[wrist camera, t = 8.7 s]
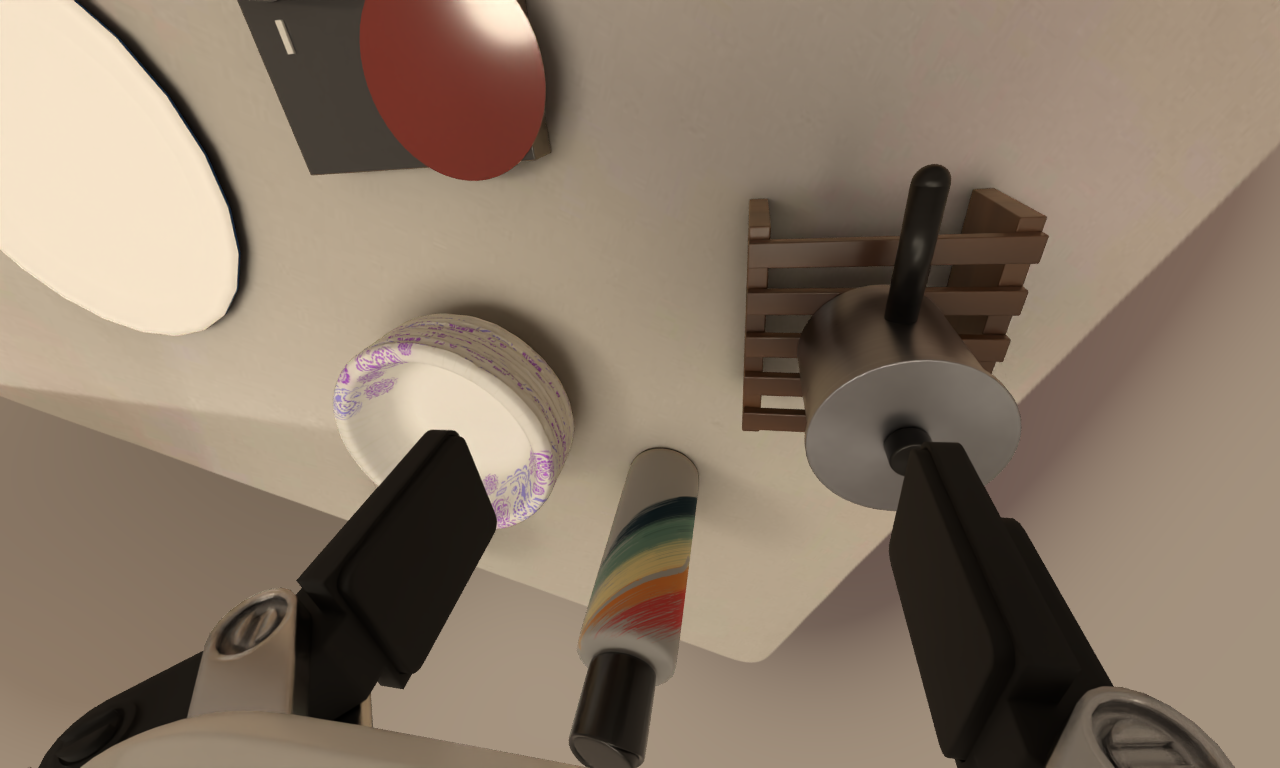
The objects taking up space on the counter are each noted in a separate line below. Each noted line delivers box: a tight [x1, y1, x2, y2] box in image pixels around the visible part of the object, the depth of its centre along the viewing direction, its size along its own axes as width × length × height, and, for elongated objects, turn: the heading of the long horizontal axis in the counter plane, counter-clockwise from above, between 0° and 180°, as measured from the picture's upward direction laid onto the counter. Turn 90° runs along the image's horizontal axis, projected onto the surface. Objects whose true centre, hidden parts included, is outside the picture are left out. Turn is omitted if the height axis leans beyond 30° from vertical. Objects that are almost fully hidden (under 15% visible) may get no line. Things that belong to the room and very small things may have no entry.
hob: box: [237, 0, 551, 175], centre depth 24 cm, size 14×16×3 cm
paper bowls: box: [333, 314, 574, 529], centre depth 35 cm, size 15×15×8 cm
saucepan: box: [797, 164, 1021, 511], centre depth 19 cm, size 7×13×8 cm, turn 5°
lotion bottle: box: [569, 448, 699, 768], centre depth 31 cm, size 6×6×20 cm
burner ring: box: [360, 0, 546, 181], centre depth 24 cm, size 10×10×1 cm
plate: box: [0, 0, 240, 336], centre depth 34 cm, size 25×25×1 cm
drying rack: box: [742, 188, 1049, 432], centre depth 26 cm, size 12×12×6 cm
